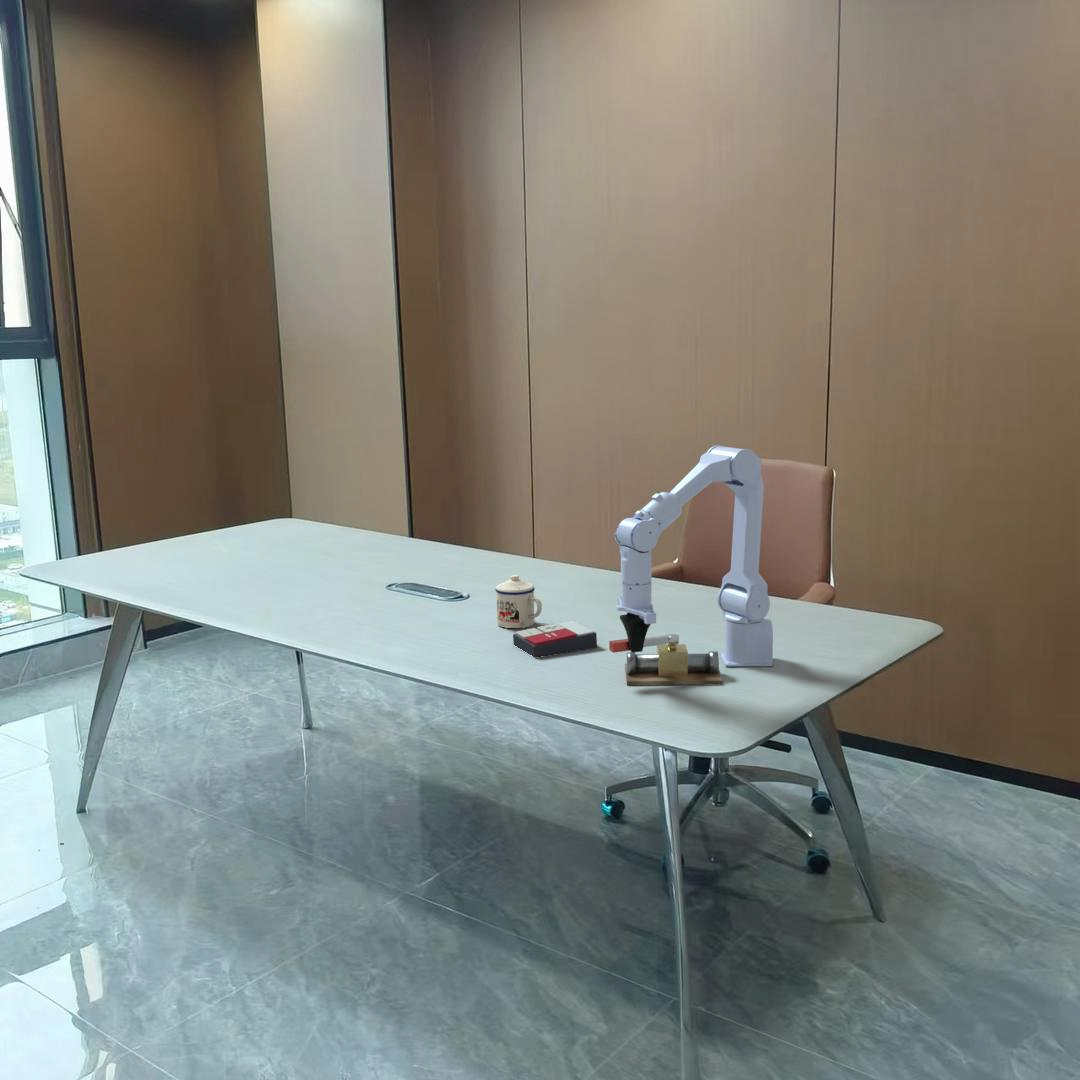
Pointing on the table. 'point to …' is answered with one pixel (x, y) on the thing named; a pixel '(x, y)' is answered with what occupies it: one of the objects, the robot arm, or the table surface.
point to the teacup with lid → (516, 603)
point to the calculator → (555, 639)
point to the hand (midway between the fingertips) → (636, 651)
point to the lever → (651, 641)
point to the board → (672, 678)
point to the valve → (672, 661)
